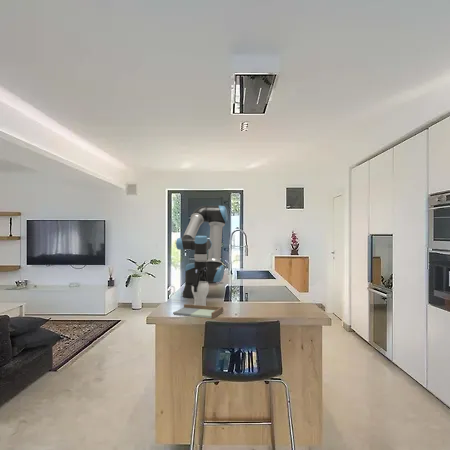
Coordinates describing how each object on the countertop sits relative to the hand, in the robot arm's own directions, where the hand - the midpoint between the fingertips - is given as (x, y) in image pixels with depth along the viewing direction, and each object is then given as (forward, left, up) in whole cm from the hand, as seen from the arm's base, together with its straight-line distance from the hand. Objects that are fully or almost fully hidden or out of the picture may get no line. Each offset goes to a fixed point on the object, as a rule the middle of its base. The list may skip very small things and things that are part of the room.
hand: (200, 295), depth 262 cm
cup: (0, 0, -7) cm, 7 cm away
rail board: (+18, +6, -7) cm, 20 cm away
